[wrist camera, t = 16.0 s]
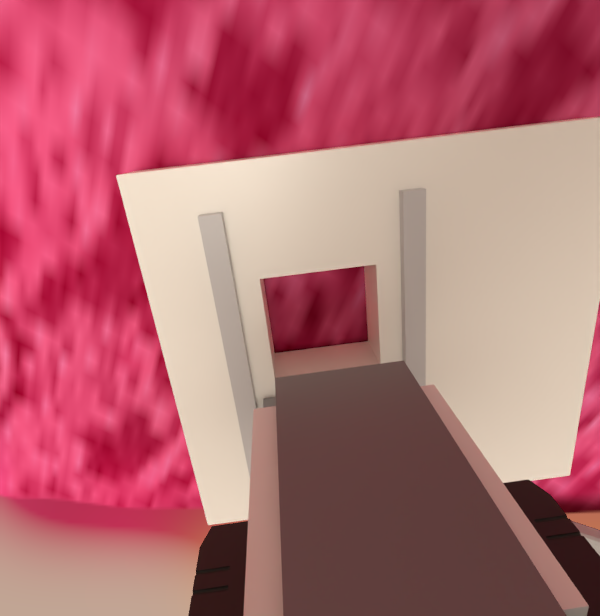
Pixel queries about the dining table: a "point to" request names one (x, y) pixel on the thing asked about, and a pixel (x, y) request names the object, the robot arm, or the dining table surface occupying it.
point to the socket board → (383, 283)
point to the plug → (388, 507)
